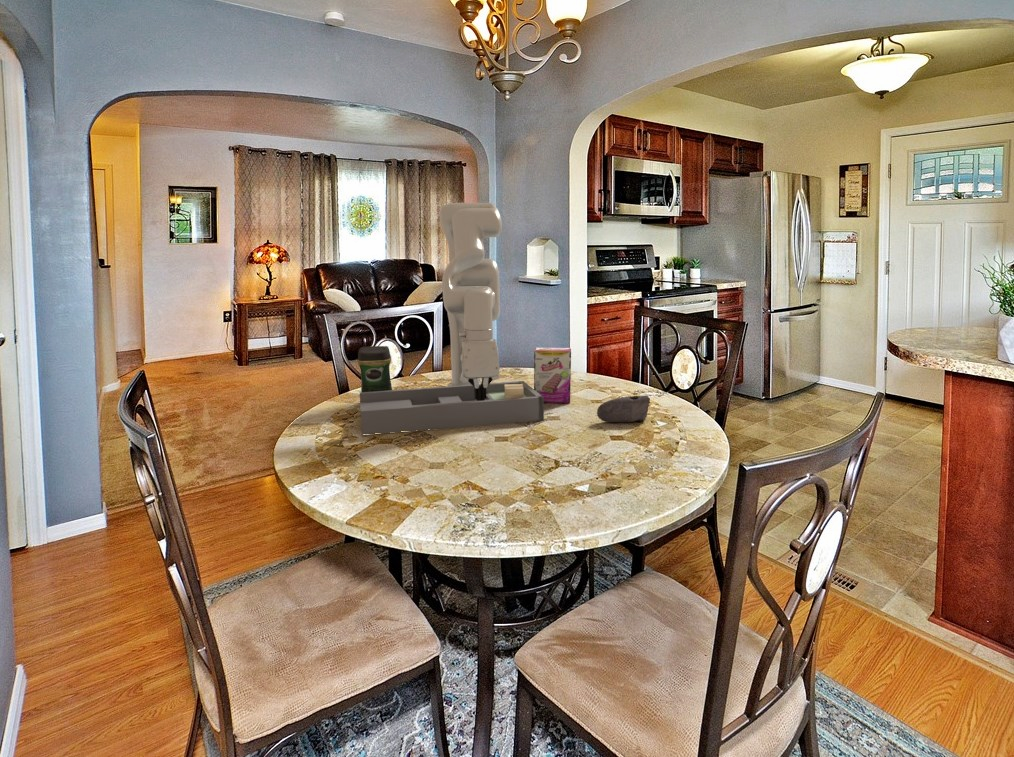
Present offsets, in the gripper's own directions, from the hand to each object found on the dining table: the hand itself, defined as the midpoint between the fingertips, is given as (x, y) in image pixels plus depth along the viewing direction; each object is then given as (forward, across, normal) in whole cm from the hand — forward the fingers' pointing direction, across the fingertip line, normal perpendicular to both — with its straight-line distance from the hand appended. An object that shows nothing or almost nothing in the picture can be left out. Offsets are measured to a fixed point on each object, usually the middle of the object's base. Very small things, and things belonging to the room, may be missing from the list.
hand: (480, 401), depth 171 cm
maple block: (+1, +9, -2) cm, 9 cm away
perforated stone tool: (+6, +36, -14) cm, 39 cm away
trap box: (+5, -8, +4) cm, 11 cm away
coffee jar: (+6, -27, +22) cm, 35 cm away
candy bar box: (+6, +25, +12) cm, 28 cm away
